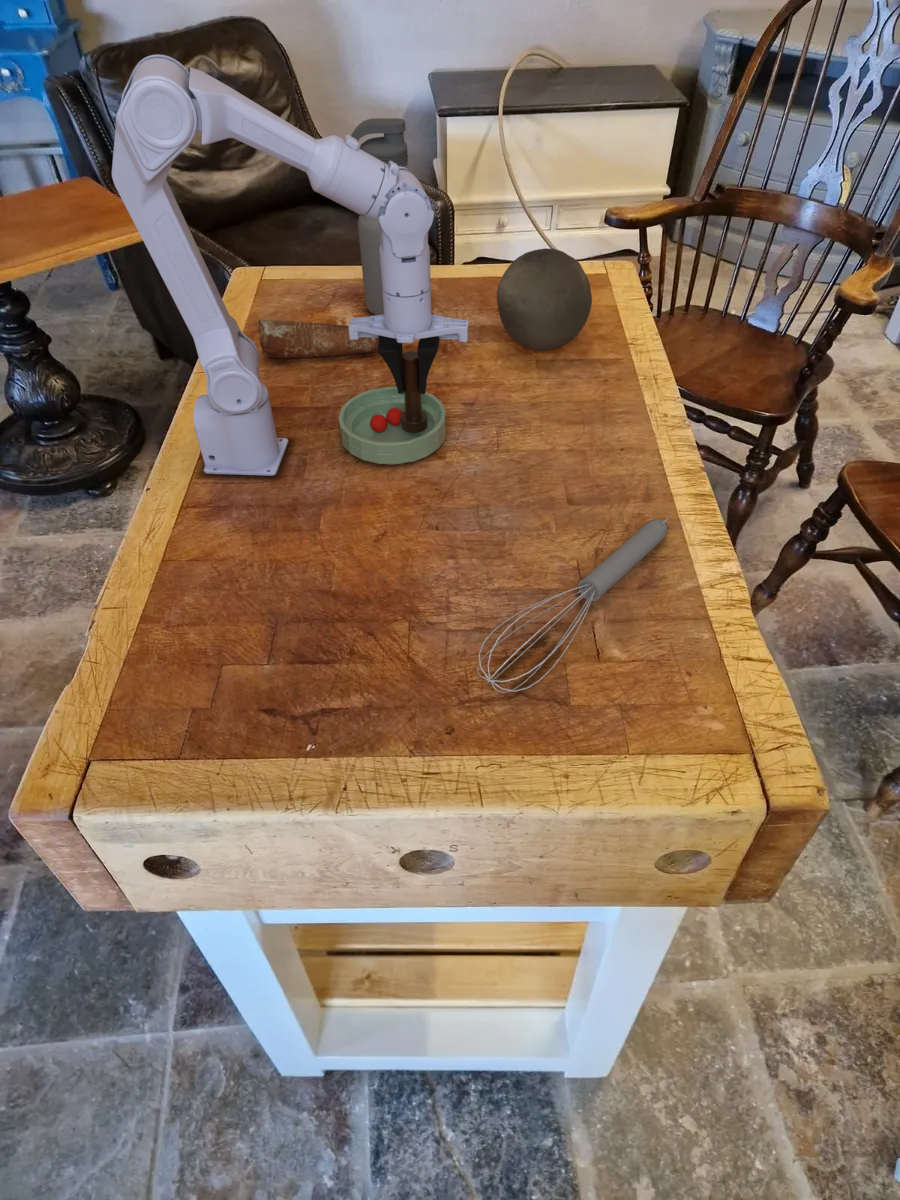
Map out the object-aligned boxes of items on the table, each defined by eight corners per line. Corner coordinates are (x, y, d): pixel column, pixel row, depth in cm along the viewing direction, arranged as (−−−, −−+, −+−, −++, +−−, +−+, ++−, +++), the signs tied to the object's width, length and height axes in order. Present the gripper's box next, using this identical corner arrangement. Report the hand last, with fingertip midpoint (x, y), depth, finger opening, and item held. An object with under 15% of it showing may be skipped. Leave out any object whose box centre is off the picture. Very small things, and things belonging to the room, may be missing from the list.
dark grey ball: (497, 327, 130) (500, 233, 120) (584, 330, 129) (595, 234, 119) (493, 371, 120) (495, 272, 110) (587, 374, 119) (599, 275, 109)
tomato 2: (385, 429, 109) (384, 413, 107) (388, 419, 111) (386, 404, 109) (403, 429, 109) (402, 414, 107) (405, 420, 111) (404, 404, 109)
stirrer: (399, 432, 106) (394, 362, 99) (402, 418, 109) (398, 348, 101) (426, 433, 106) (423, 363, 99) (428, 418, 108) (426, 348, 101)
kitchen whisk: (689, 537, 93) (699, 494, 88) (513, 721, 75) (515, 678, 71) (643, 516, 96) (651, 473, 91) (463, 688, 78) (462, 645, 73)
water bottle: (358, 319, 133) (339, 131, 113) (368, 293, 140) (352, 111, 120) (419, 321, 132) (410, 131, 113) (426, 295, 139) (419, 112, 119)
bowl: (333, 465, 104) (329, 443, 102) (350, 407, 114) (348, 385, 112) (441, 469, 103) (440, 446, 101) (449, 409, 113) (449, 387, 111)
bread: (265, 346, 127) (258, 313, 123) (385, 343, 127) (382, 310, 123) (259, 366, 123) (252, 332, 119) (383, 363, 123) (381, 329, 119)
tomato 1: (369, 435, 108) (368, 420, 106) (372, 425, 110) (370, 410, 108) (387, 436, 108) (385, 420, 106) (389, 426, 109) (388, 411, 108)
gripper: (339, 300, 91) (351, 404, 101) (465, 303, 91) (466, 407, 100) (349, 274, 96) (360, 376, 106) (469, 276, 95) (469, 379, 105)
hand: (412, 389), depth 103 cm, fingers closed on stirrer, 2 cm apart
